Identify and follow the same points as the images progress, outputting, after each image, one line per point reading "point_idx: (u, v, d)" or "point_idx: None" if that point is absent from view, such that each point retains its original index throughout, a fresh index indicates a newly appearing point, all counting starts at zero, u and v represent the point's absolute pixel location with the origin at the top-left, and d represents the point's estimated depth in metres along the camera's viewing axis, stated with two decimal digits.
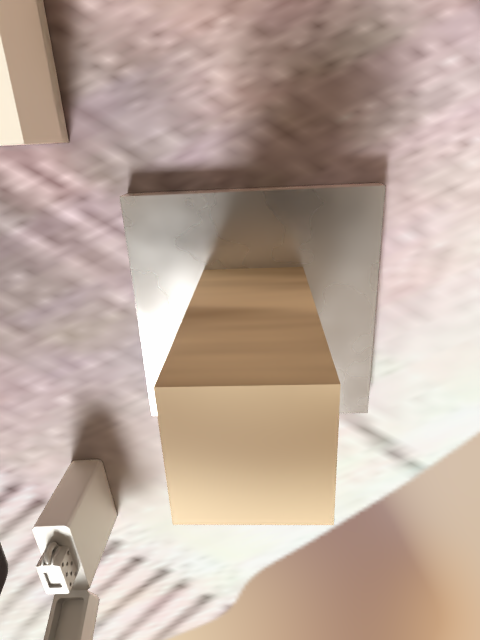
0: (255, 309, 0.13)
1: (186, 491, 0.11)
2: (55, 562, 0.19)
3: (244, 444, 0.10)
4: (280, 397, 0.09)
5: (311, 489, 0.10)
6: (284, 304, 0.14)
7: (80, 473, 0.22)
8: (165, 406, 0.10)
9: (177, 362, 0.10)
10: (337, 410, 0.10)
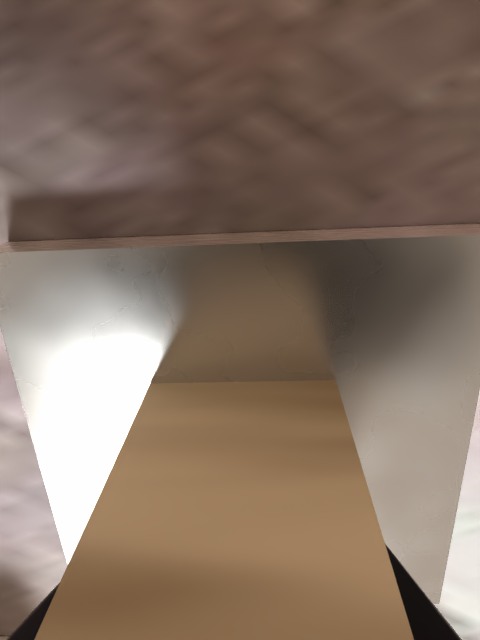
0: (237, 581, 0.05)
1: None
2: None
3: None
4: None
5: None
6: (312, 554, 0.05)
7: None
8: None
9: None
10: None
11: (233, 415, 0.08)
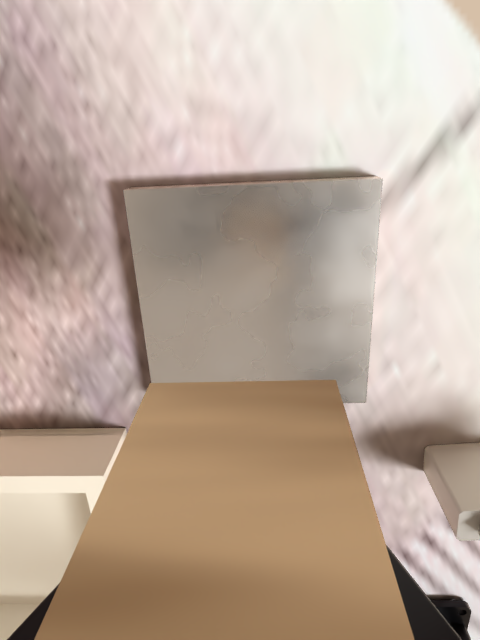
0: (237, 581, 0.05)
1: None
2: None
3: None
4: None
5: None
6: (312, 554, 0.05)
7: (431, 471, 0.22)
8: None
9: None
10: None
11: (233, 415, 0.08)
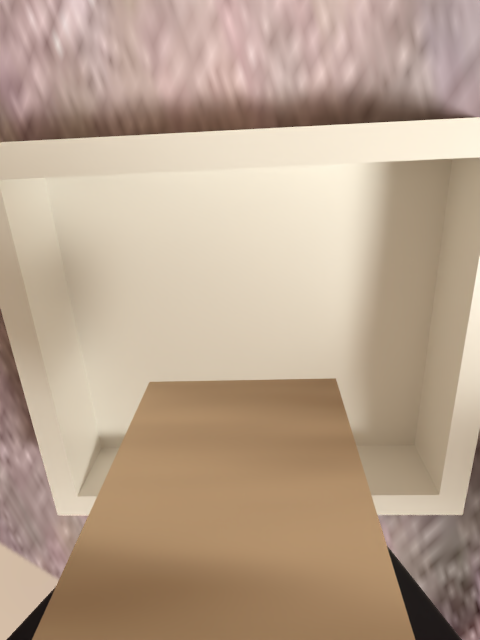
0: (236, 580, 0.05)
1: None
2: None
3: None
4: None
5: None
6: (311, 553, 0.05)
7: None
8: None
9: None
10: None
11: (233, 413, 0.08)
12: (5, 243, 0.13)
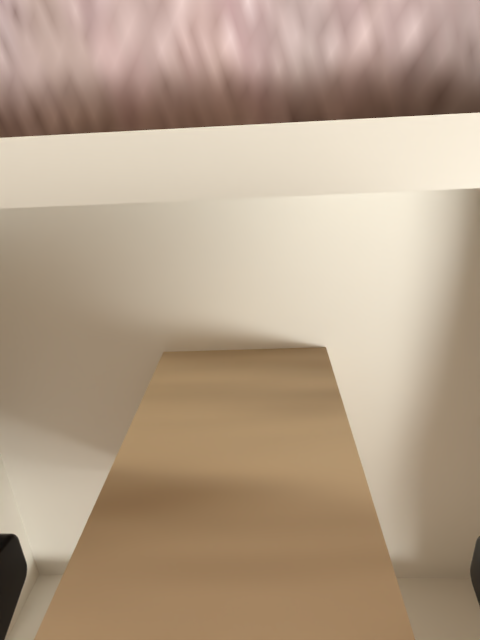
0: (242, 487, 0.07)
1: None
2: None
3: None
4: None
5: None
6: (301, 469, 0.07)
7: None
8: None
9: None
10: None
11: (237, 374, 0.10)
12: None
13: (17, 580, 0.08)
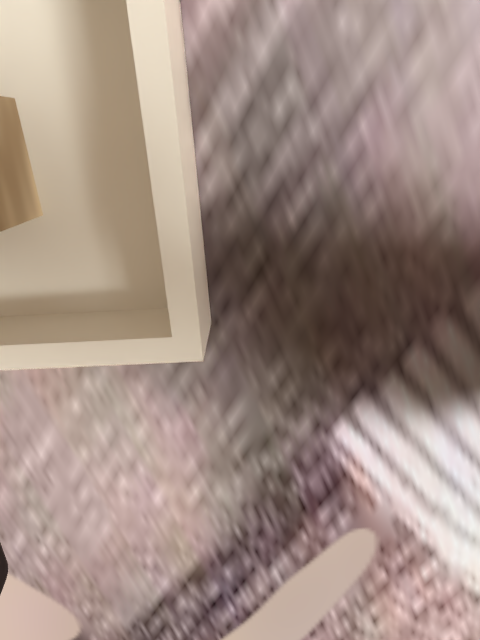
0: None
1: None
2: None
3: None
4: None
5: None
6: None
7: None
8: None
9: None
10: None
11: None
12: None
13: None
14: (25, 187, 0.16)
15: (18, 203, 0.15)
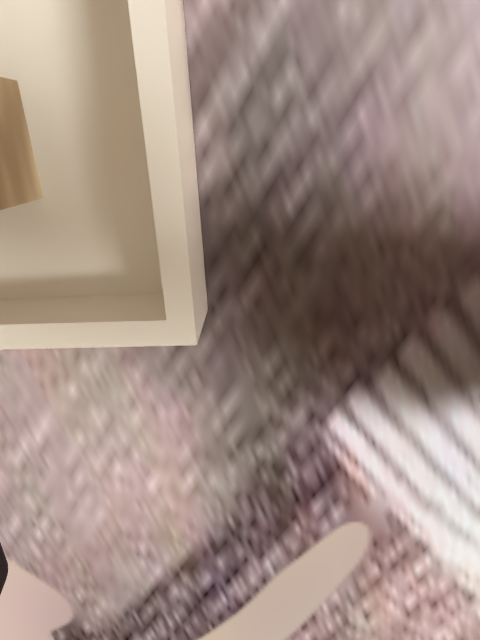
0: None
1: None
2: None
3: None
4: None
5: None
6: None
7: None
8: None
9: None
10: None
11: None
12: None
13: None
14: (25, 169, 0.16)
15: (17, 184, 0.15)
